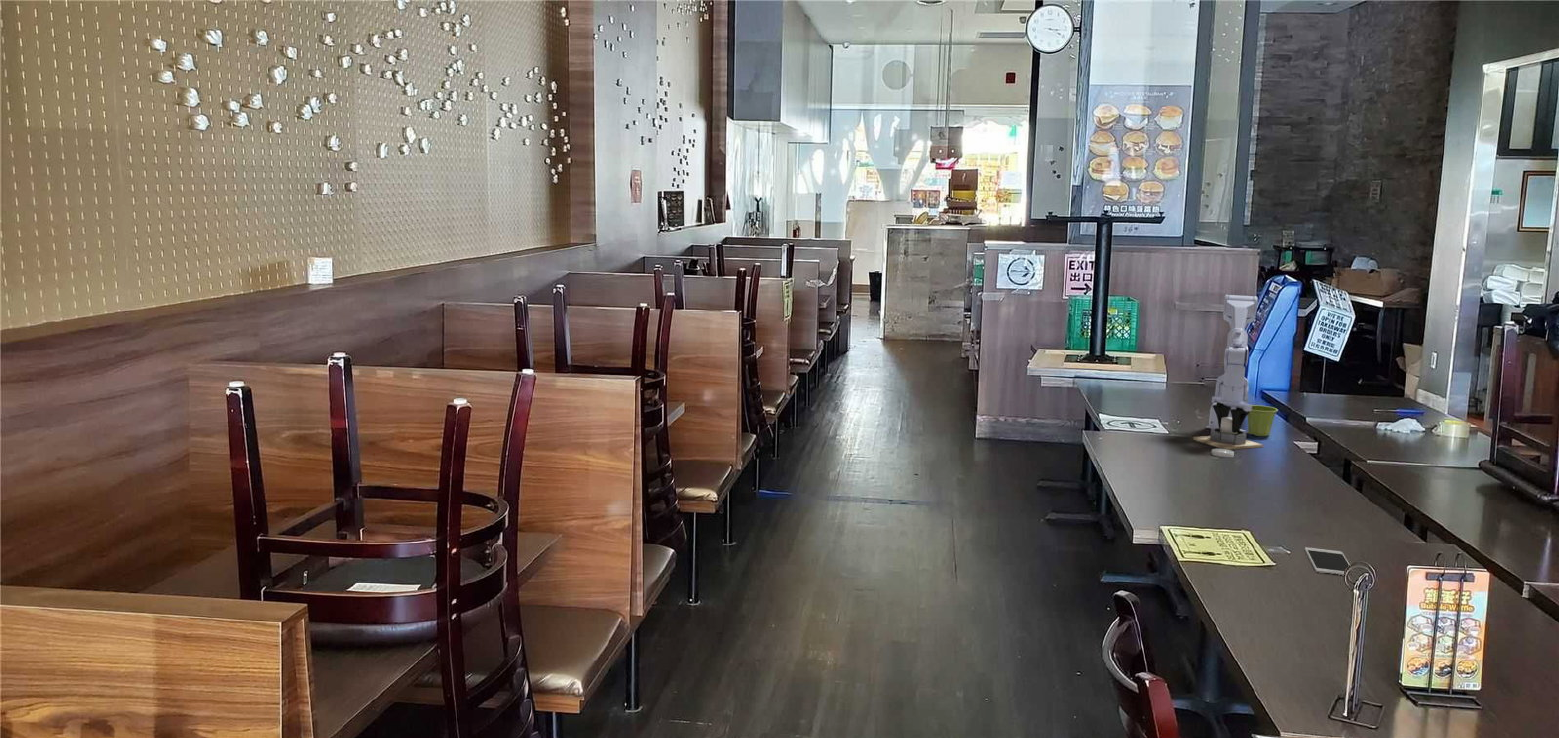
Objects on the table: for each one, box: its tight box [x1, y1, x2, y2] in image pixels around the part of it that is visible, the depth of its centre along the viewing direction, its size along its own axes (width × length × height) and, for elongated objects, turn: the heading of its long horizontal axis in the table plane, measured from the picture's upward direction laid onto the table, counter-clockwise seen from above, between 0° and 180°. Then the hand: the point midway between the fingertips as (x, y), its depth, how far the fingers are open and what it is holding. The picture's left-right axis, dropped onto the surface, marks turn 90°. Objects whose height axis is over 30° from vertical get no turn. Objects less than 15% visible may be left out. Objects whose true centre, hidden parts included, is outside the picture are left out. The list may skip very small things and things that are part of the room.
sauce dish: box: [1211, 448, 1235, 459], centre depth 307 cm, size 6×6×2 cm
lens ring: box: [1209, 428, 1248, 445], centre depth 322 cm, size 10×10×3 cm
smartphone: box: [1304, 546, 1351, 577], centre depth 215 cm, size 7×15×1 cm, turn 162°
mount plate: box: [1192, 435, 1264, 451], centre depth 323 cm, size 14×14×1 cm
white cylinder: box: [1220, 417, 1238, 434], centre depth 322 cm, size 5×5×5 cm
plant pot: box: [1247, 404, 1279, 437], centre depth 336 cm, size 9×9×9 cm
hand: (1228, 430), depth 322 cm, fingers closed on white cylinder, 5 cm apart
